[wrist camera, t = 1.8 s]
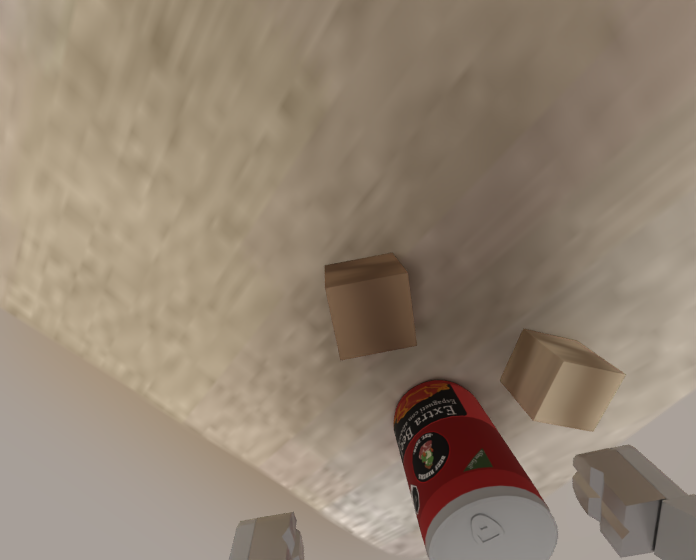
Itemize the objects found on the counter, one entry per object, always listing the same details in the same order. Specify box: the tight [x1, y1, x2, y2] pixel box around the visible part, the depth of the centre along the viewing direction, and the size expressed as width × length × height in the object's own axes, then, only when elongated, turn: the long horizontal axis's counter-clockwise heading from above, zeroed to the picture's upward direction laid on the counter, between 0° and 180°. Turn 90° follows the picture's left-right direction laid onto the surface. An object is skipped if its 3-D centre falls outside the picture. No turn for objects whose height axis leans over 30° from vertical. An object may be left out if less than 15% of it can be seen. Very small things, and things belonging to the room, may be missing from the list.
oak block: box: [500, 329, 626, 432], centre depth 27 cm, size 5×5×5 cm
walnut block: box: [325, 253, 417, 360], centre depth 24 cm, size 5×5×5 cm
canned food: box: [394, 380, 558, 560], centre depth 25 cm, size 8×8×11 cm
